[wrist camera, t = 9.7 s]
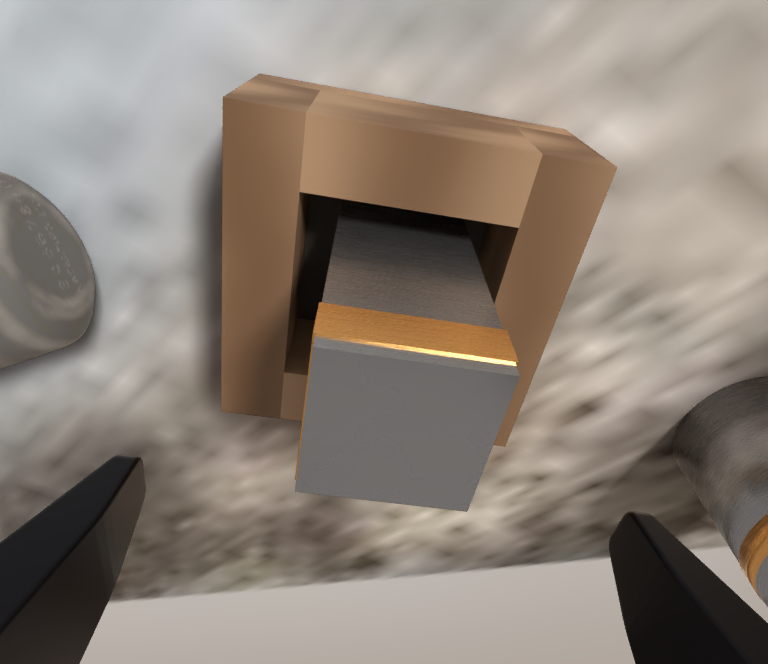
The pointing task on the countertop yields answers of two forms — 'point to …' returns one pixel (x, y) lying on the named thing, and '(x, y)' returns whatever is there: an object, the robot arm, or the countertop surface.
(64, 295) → the pipe fitting
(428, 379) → the square bit
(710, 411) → the cylinder
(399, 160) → the block
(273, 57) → the countertop surface
